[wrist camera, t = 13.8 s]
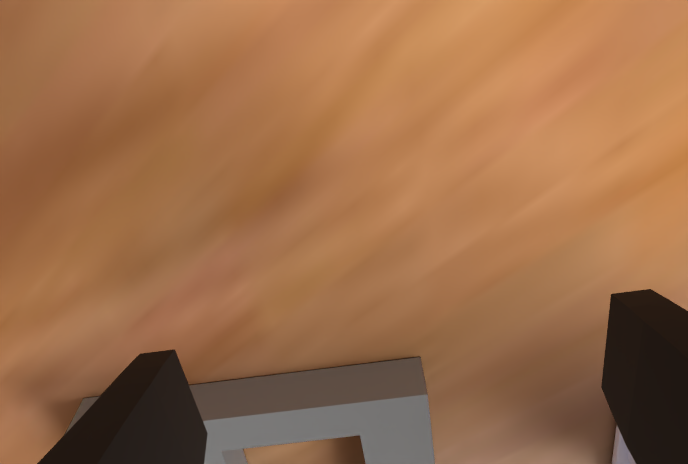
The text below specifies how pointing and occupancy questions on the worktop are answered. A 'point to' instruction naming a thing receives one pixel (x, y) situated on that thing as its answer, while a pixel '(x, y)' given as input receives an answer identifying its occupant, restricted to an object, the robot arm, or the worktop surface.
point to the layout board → (318, 411)
